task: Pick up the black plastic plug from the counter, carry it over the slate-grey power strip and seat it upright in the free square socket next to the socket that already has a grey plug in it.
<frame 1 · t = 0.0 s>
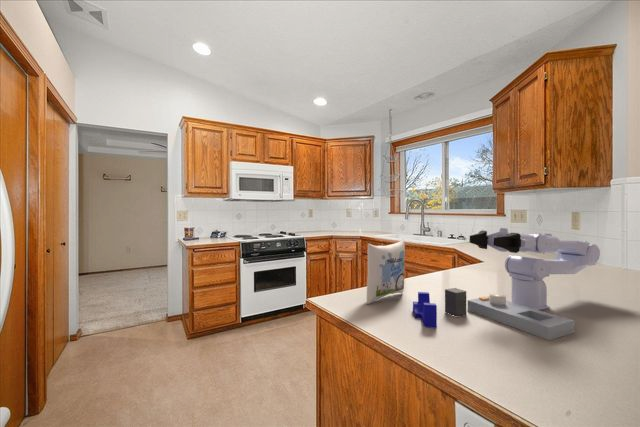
hand: (482, 240, 82), 22 cm above the counter, tool horizontal, fingers open, 7 cm apart
plug: (455, 314, 84), on the counter
cable clip: (423, 319, 80), on the counter
power strip: (515, 320, 78), on the counter
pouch: (386, 299, 98), on the counter
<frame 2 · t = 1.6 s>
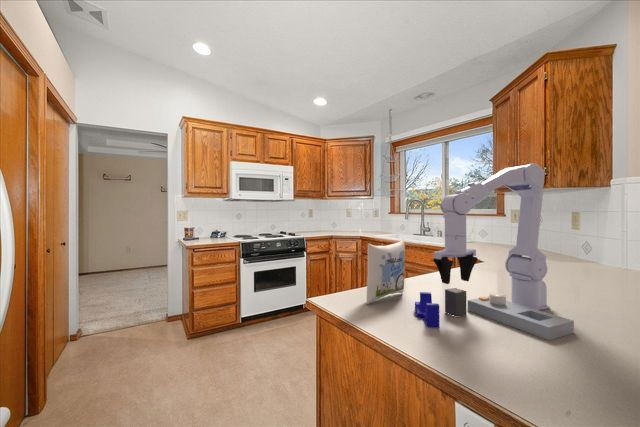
hand: (455, 281, 83), 9 cm above the counter, tool pointing down, fingers open, 7 cm apart
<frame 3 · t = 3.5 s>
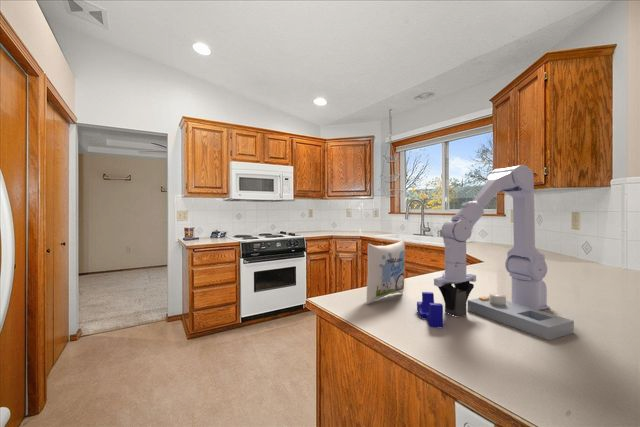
hand: (455, 308, 83), 2 cm above the counter, tool pointing down, fingers closed on plug, 4 cm apart
plug: (455, 314, 84), on the counter, touching gripper
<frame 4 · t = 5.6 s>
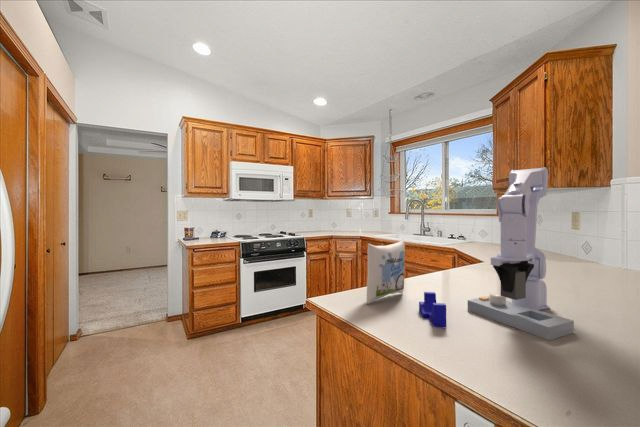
hand: (513, 290, 76), 9 cm above the counter, tool pointing down, fingers closed on plug, 4 cm apart
plug: (513, 296, 76), point 7 cm above the counter, touching gripper
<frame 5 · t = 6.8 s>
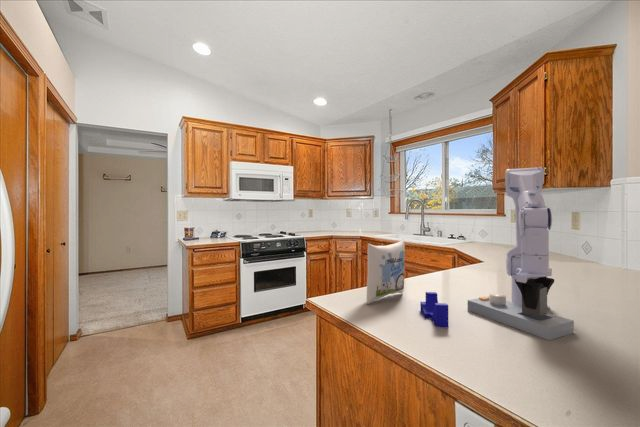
hand: (534, 306, 74), 5 cm above the counter, tool pointing down, fingers closed on plug, 4 cm apart
plug: (534, 313, 74), point 4 cm above the counter, touching gripper
when the fingers open (4 cm above the counter, at t = 8.0 s): plug drops 2 cm, resting on power strip.
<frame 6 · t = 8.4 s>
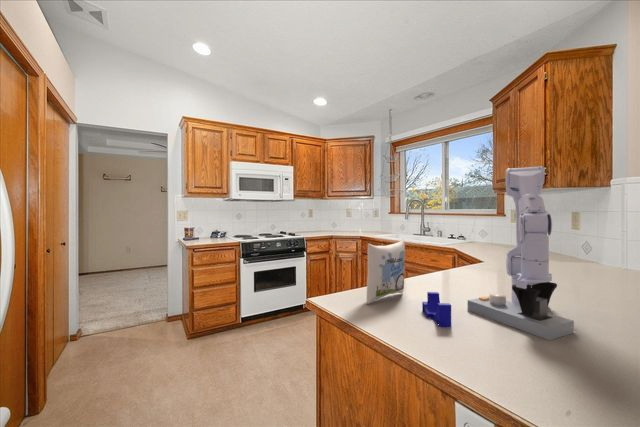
hand: (534, 311, 74), 4 cm above the counter, tool pointing down, fingers open, 7 cm apart
plug: (534, 325, 74), resting on power strip
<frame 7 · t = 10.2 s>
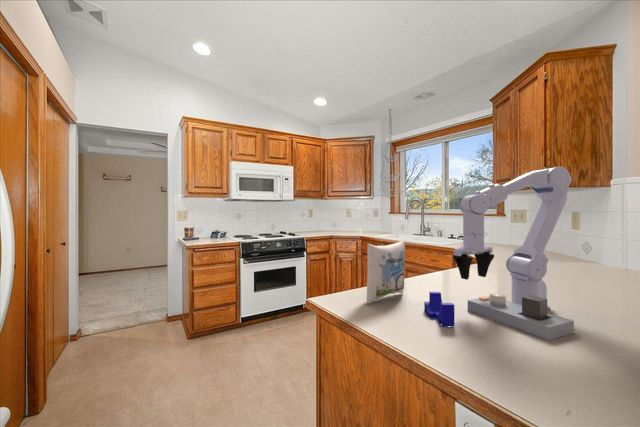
hand: (473, 277, 88), 9 cm above the counter, tool pointing down, fingers open, 7 cm apart
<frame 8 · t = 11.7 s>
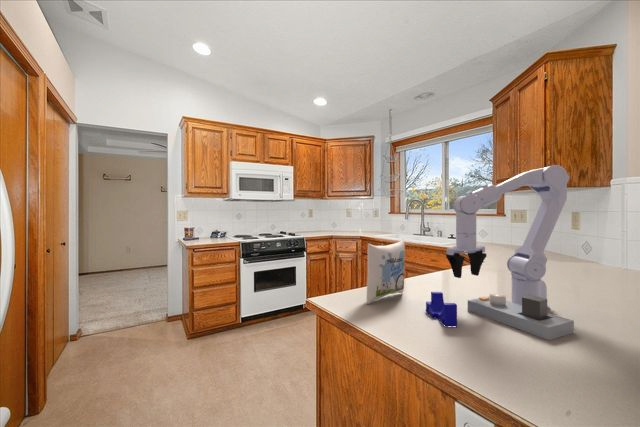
hand: (466, 276, 91), 9 cm above the counter, tool pointing down, fingers open, 7 cm apart
at the end: plug 0.0 cm from the target spot on the power strip, point 0.5 cm above the power strip's base; plug tilted 0°; the gripper is holding nothing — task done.
